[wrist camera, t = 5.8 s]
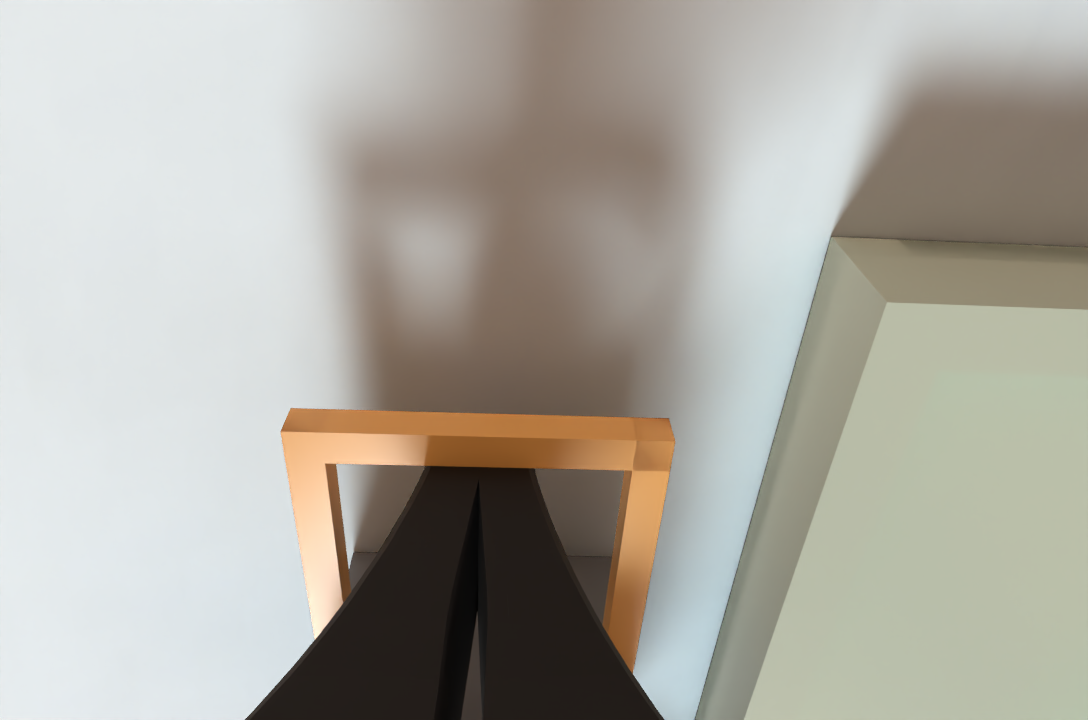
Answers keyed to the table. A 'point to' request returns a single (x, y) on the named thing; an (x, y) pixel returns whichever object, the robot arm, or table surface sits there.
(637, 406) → the table surface
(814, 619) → the green tray
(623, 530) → the orange handle block
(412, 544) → the robot arm
